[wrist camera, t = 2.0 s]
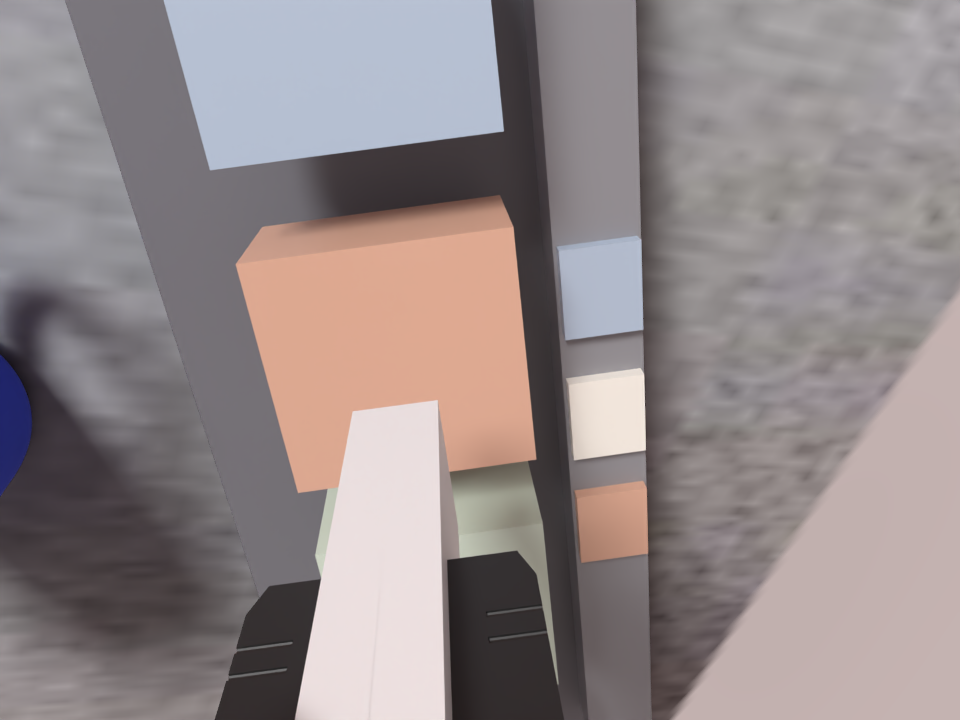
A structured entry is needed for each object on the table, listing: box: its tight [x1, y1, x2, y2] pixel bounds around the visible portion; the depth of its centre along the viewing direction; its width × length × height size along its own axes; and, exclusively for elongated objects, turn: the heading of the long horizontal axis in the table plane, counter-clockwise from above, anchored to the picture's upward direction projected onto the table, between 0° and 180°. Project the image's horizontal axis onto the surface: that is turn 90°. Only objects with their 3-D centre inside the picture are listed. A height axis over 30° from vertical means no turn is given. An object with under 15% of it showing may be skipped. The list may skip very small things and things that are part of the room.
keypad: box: [65, 0, 652, 720], centre depth 24 cm, size 14×32×4 cm, turn 7°
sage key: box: [315, 461, 559, 684], centre depth 22 cm, size 6×6×3 cm
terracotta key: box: [236, 195, 536, 493], centre depth 19 cm, size 6×6×3 cm
